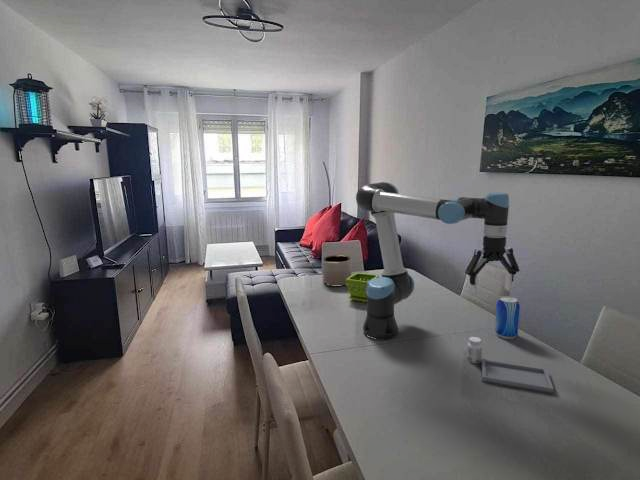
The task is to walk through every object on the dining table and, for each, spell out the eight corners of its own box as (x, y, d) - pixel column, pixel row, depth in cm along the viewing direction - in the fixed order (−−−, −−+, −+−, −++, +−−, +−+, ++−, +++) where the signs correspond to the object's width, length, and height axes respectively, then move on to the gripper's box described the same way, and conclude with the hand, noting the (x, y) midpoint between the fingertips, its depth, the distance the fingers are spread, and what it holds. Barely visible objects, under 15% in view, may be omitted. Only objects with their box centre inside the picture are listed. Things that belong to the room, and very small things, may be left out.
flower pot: (379, 297, 198) (379, 275, 195) (369, 305, 186) (368, 282, 184) (357, 293, 205) (356, 271, 202) (345, 301, 194) (344, 278, 191)
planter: (321, 287, 218) (320, 262, 214) (325, 278, 235) (324, 254, 232) (350, 287, 215) (349, 262, 211) (352, 278, 232) (352, 255, 229)
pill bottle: (480, 357, 133) (481, 337, 131) (481, 364, 128) (482, 343, 127) (466, 356, 134) (467, 335, 133) (467, 362, 130) (468, 341, 128)
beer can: (520, 340, 144) (523, 303, 141) (497, 339, 146) (500, 302, 143) (513, 331, 152) (516, 295, 149) (492, 330, 154) (494, 295, 151)
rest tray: (482, 381, 119) (482, 376, 118) (481, 363, 129) (481, 358, 129) (553, 394, 111) (553, 388, 111) (545, 373, 122) (546, 368, 121)
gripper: (468, 240, 124) (465, 297, 129) (533, 235, 128) (528, 292, 132) (457, 235, 132) (454, 290, 136) (519, 232, 135) (514, 285, 139)
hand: (490, 291), depth 134 cm, fingers open, 13 cm apart
